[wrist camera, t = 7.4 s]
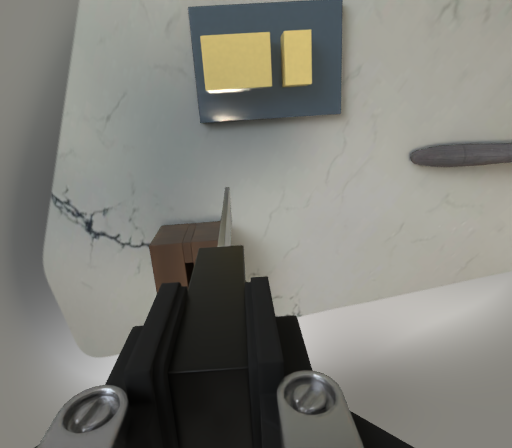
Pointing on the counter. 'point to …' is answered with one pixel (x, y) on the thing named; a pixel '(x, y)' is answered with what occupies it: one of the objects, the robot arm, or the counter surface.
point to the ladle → (463, 155)
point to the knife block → (180, 250)
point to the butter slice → (296, 58)
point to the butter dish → (276, 26)
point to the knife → (213, 350)
